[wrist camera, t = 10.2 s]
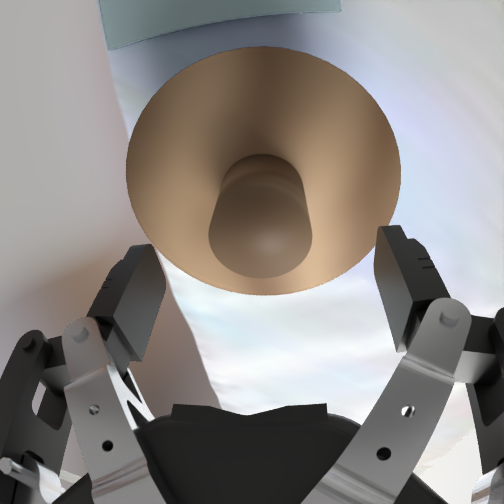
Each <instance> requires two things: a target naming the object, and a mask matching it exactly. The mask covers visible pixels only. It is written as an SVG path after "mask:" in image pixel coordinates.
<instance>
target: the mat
mask: <svg viewBox="0 0 504 504" xmlns="http://www.w3.org/2000/svg"><path fill="white" fill-rule="evenodd" d="M99 4H100V10H101V16H102V21H103V26H104V32H105V37H106V42H107V46H108V51H109V50H115V49H117V48H120V47H123V46H126V45H129V44H133V43H136V42H139V41H142V40H146V39H149V38H152V37H156V36H160V35H163V34H167V33H171V32H175V31H179V30H183V29H188V28H192V27H197V26H202V25H207V24H212V23H218V22H223V21H229V20H236V19H243V18H250V17H258V16H268V15H279V14H292V13H314V12H340V11H341V5H340V0H99Z"/></svg>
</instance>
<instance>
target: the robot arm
mask: <svg viewBox="0 0 504 504" xmlns="http://www.w3.org/2000/svg"><path fill="white" fill-rule="evenodd" d="M374 275H375V280H376V283H377V286H378V289H379V292H380V295H381V299H382V302H383V305H384V309H385V312H386V315H387V319H388V322H389V326H390V330H391V333H392V337H393V340H394V344H395V348H396V352H397V353H398V352H404V351H407V353H406V355H405V357H404V356H403V358H402V359H401V361H400V363H399V364H398V366H397V368H396V370H395V372H394V374H393V375H392V377H391V379H390V381H389V382H388V384H387V386H386V388H385V389H384V391H383V393H382V394H381V396H380V398H379V399H378V401H377V402H376V404H375V406H374V407H373V409H372V411H371V412H370V414H369V415H368V417H367V418H366V420H365V421H364V423H363V424H362V425H360V424H358V423H357V422H355V421H353V420H351V419H348V418H346V417H343V416H339V415H336V414H330V413H327V403H324V404H311V405H294V406H285V407H281V408H277V409H273V410H269V411H265V412H261V413H257V414H253V415H240V414H236V413H233V412H229V411H225V410H221V409H217V408H214V407H211V406H199V405H182V404H173V408H172V413H171V414H168V415H164V416H161V417H158V418H156V419H155V418H154V417H153V416H152V414H151V413H150V411H149V409H148V407H147V405H146V404H145V401H144V399H143V397H142V395H141V393H140V391H139V389H138V387H137V385H136V382H135V380H134V378H133V376H132V373H131V371H130V370H129V368H128V365H129V362H130V361H142V360H143V357H144V353H145V350H146V347H147V344H148V341H149V338H150V335H151V332H152V329H153V326H154V323H155V320H156V317H157V314H158V311H159V308H160V305H161V302H162V299H163V297H164V294H165V290H166V279H165V275H164V273H163V270H162V268H161V265H160V262H159V260H158V257H157V255H156V252H155V250H154V247H153V246H152V245H151V244H145V245H134V246H131V247H130V248H129V250H128V252H127V253H126V255H125V257H124V259H123V260H120V261H119V262H118V263H117V264H116V265H115V266H114V267H113V268H112V269H111V270H110V272H109V274H108V276H107V277H106V281H104V283H103V285H102V287H101V289H100V291H99V292H98V294H97V296H96V298H95V300H94V302H93V304H92V306H91V308H90V310H89V312H88V314H87V316H86V317H81V318H79V319H76V320H75V321H73V322H72V323H70V324H69V325H68V326H67V327H66V329H65V330H64V333H63V335H62V336H58V337H55V338H51V339H47V338H46V337H45V336H44V334H43V333H42V332H41V331H39V330H31V331H29V332H27V333H26V334H24V335H23V336H22V337H21V338H20V339H19V341H18V342H17V344H16V346H15V349H14V350H13V352H12V354H11V357H10V359H9V361H8V363H7V365H6V367H5V370H4V372H3V374H2V376H1V379H0V504H448V503H447V502H446V501H445V500H443V499H442V498H441V497H440V496H439V495H438V494H437V493H436V492H435V491H433V490H432V489H431V488H430V487H429V486H428V485H427V484H426V483H424V482H423V481H422V480H421V479H420V478H419V477H418V476H417V475H416V474H414V473H413V472H412V471H413V470H414V468H415V466H416V464H417V463H418V461H419V459H420V457H421V455H422V453H423V451H424V449H425V448H426V446H427V444H428V442H429V440H430V438H431V436H432V434H433V432H434V429H435V427H436V425H437V423H438V421H439V419H440V416H441V414H442V412H443V410H444V407H445V405H446V403H447V400H448V398H449V395H450V393H451V391H452V388H453V385H454V382H462V383H465V384H466V388H467V392H468V396H469V400H470V405H471V409H472V414H473V419H474V423H475V429H476V434H477V439H478V445H479V451H480V458H481V465H482V473H483V476H482V477H481V478H480V479H479V480H478V481H477V483H476V484H475V486H474V489H473V492H472V499H471V504H504V307H503V308H501V309H500V310H499V311H498V312H497V314H496V316H495V317H494V318H487V317H480V316H474V315H471V314H470V312H469V310H468V309H467V307H466V306H465V305H464V304H462V303H461V302H459V301H457V300H455V299H452V298H451V297H450V295H449V293H448V291H447V289H446V287H445V285H444V283H443V281H442V279H441V277H440V275H439V273H438V271H437V269H436V268H435V265H434V263H433V261H432V260H431V259H430V256H429V254H428V252H427V250H426V249H425V247H424V246H423V245H422V244H420V243H419V242H418V241H417V240H416V239H414V238H413V239H407V237H406V235H405V233H404V231H403V230H402V228H401V226H400V225H391V226H379V227H378V230H377V237H376V247H375V256H374ZM39 381H40V382H41V383H42V384H43V385H44V386H45V387H46V390H45V393H44V396H43V399H42V402H41V404H40V407H39V410H38V413H37V416H36V415H35V414H34V412H33V410H32V400H33V397H34V395H35V392H36V389H37V386H38V384H39ZM72 424H73V427H74V431H75V434H76V437H77V441H78V444H79V446H80V450H81V453H82V456H83V459H84V462H85V464H86V467H87V470H88V473H87V474H86V475H84V476H83V477H82V478H81V479H80V480H78V481H77V482H76V483H75V484H74V485H73V486H71V487H70V488H69V489H68V490H65V488H64V487H62V486H61V482H60V479H59V474H60V469H61V465H62V461H63V456H64V452H65V448H66V444H67V440H68V437H69V433H70V429H71V426H72Z"/></svg>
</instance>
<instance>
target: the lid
mask: <svg viewBox="0 0 504 504" xmlns="http://www.w3.org/2000/svg"><path fill="white" fill-rule="evenodd" d="M126 181H127V189H128V194H129V198H130V202H131V205H132V208H133V211H134V213H135V216H136V218H137V220H138V222H139V224H140V226H141V228H142V229H143V231H144V233H145V234H146V236H147V237H148V238H149V240H150V241H151V242H152V244H153V245H154V246H155V247H156V248H157V249H158V251H159V252H160V253H161V254H162V255H163V256H164V257H165V258H166V259H168V260H169V261H170V262H171V263H173V264H174V265H175V266H176V267H178V268H179V269H181V270H182V271H184V272H185V273H187V274H188V275H190V276H192V277H194V278H196V279H198V280H200V281H201V282H204V283H206V284H209V285H211V286H214V287H216V288H220V289H223V290H227V291H231V292H236V293H241V294H249V295H282V294H290V293H295V292H300V291H304V290H308V289H311V288H314V287H317V286H320V285H322V284H324V283H326V282H329V281H331V280H333V279H335V278H337V277H338V276H340V275H342V274H343V273H345V272H347V271H348V270H349V269H351V268H352V267H353V266H355V265H356V264H357V263H359V262H360V261H361V260H362V259H363V258H364V257H365V256H366V255H367V254H368V253H369V252H370V251H371V250H372V249H373V247H374V246H375V245H376V237H377V230H378V227H379V226H388V225H389V223H390V221H391V218H392V216H393V214H394V211H395V208H396V204H397V201H398V196H399V190H400V184H401V165H400V157H399V150H398V146H397V143H396V139H395V136H394V133H393V131H392V128H391V126H390V124H389V122H388V120H387V118H386V116H385V114H384V113H383V111H382V110H381V108H380V107H379V105H378V104H377V102H376V101H375V100H374V98H373V97H372V96H371V95H370V94H369V93H368V92H367V91H366V90H365V89H364V87H363V86H362V85H360V84H359V83H358V82H357V81H356V80H354V79H353V78H352V77H351V76H349V75H348V74H347V73H346V72H344V71H342V70H341V69H339V68H337V67H336V66H334V65H332V64H330V63H329V62H327V61H324V60H322V59H319V58H317V57H314V56H312V55H309V54H307V53H303V52H299V51H295V50H290V49H286V48H277V47H265V46H264V47H246V48H239V49H234V50H230V51H225V52H221V53H218V54H215V55H212V56H210V57H207V58H204V59H202V60H200V61H198V62H196V63H194V64H192V65H190V66H189V67H187V68H185V69H183V70H182V71H180V72H179V73H178V74H176V75H175V76H174V77H173V78H171V79H170V80H169V81H167V82H166V83H165V84H164V85H163V86H162V87H161V88H160V89H159V90H158V91H157V93H156V94H155V95H154V96H153V97H152V98H151V100H150V101H149V103H148V104H147V105H146V107H145V108H144V110H143V111H142V113H141V115H140V117H139V119H138V121H137V123H136V125H135V127H134V130H133V133H132V136H131V139H130V142H129V147H128V153H127V159H126Z"/></svg>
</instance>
